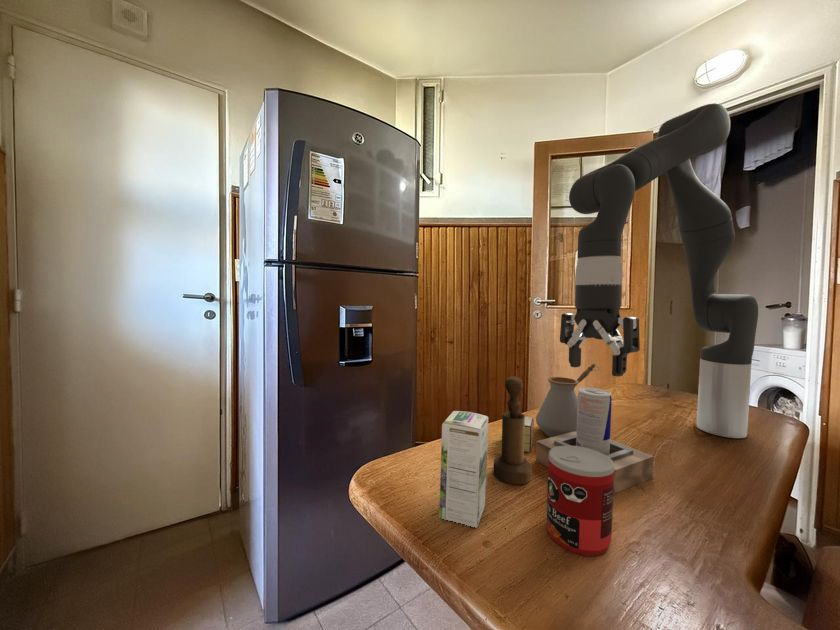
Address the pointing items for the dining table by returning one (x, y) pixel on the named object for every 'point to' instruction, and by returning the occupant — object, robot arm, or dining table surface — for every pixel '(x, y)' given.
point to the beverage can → (594, 419)
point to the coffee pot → (560, 406)
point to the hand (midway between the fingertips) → (595, 371)
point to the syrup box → (463, 467)
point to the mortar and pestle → (513, 440)
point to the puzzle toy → (528, 434)
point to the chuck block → (627, 460)
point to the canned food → (580, 499)
